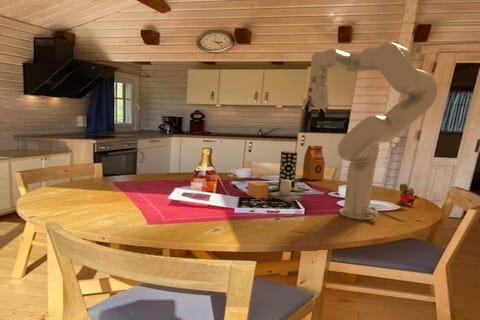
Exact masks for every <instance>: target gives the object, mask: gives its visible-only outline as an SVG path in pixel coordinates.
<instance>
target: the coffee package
mask: <svg viewBox="0 0 480 320" xmlns="http://www.w3.org/2000/svg"><path fill="white" fill-rule="evenodd" d="M323 149H324V148H323V145H312V144H311V145H308V146H307V148H306V151H305V153H304V157H303V167H302V179H306V180H308V181H323V180H324V178H325V176H324V175H325V174H324V173H325V165H326V162H325V155H324V153H323Z"/></svg>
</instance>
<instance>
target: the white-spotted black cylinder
mask: <svg viewBox="0 0 480 320" xmlns="http://www.w3.org/2000/svg"><path fill="white" fill-rule="evenodd" d="M297 162H298V152H297V151H295V152H294V151H284V150H282V151H281V152H280V163H279V174H278V175H279V176H278V177H279V178H278V189H279V190H278V191H280V186H281V180H282V179H286V180H291V192H290V193H294V192H295V189H296V187H295V186H296V175H297ZM293 191H294V192H293Z"/></svg>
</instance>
